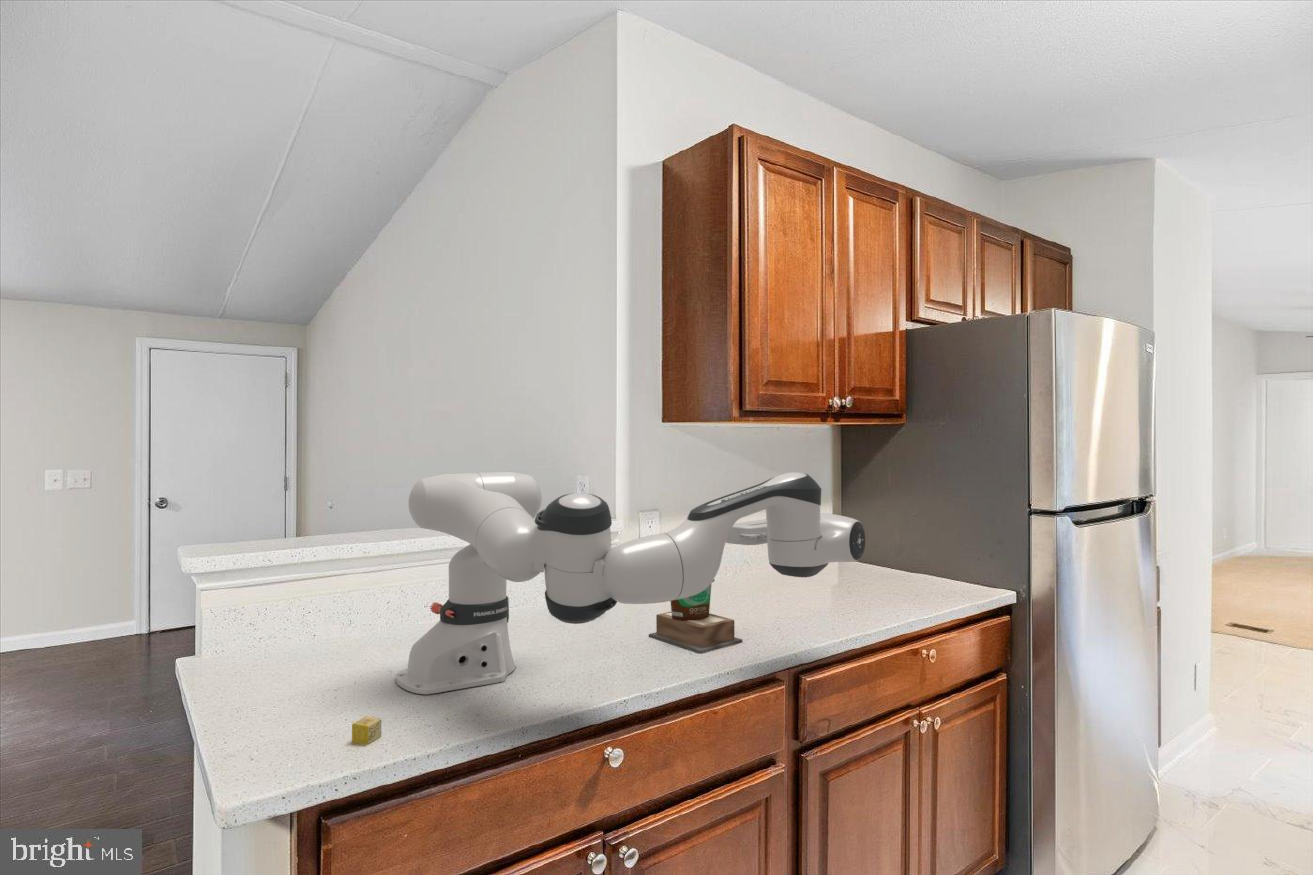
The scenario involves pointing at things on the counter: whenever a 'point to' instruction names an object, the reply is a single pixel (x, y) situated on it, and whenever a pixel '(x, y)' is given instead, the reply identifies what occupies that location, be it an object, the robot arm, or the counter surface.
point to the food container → (692, 606)
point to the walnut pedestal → (696, 632)
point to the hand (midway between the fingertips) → (739, 526)
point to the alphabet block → (366, 730)
